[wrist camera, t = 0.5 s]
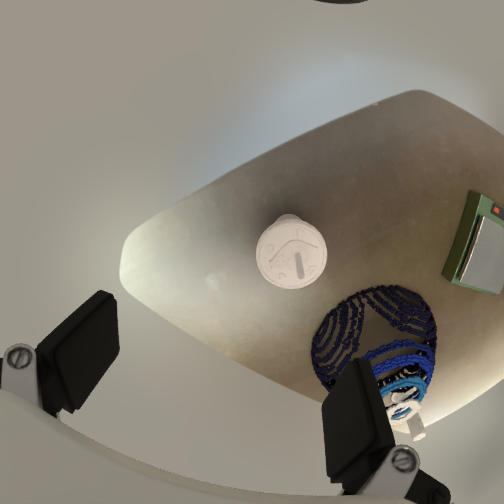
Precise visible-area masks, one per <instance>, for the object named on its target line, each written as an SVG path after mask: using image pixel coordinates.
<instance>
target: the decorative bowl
mask: <svg viewBox="0 0 504 504" xmlns="http://www.w3.org/2000/svg"><path fill="white" fill-rule="evenodd" d="M388 289H389V290H390V292H391V293H393V294H394V295H395V296H396V297H398V298H399V299H400V300H402V301H403V302H401V301H400V300H398V299H397V298H396V297H394V296H393V294H391V293H390V292H388ZM376 290H378V291H381V293H383V294H384V295H385V296H386V297H387V298H388V299H389V300H391V301H392V302H394V303H395V304H396V305H398V309H399V310H400V311H402V312H403V313H402V312H400V311H398V310H397V309H396V308H394V307H393V306H391V305H389V303H388V302H386V301H384V299H382V298H381V296H380V295H378V293H377V292H376ZM396 290H399V291H400V292H402V294H404V295H405V296H408V297H409V298H411V299H414V300H416V301H419V302H421V303H422V305H421V306H419V305H416V304H414V303H411V302H409V301H408V300H406V299H404V298H403V297H401V296H400V295H399V294H397V293H396V292H395V291H396ZM369 292H373V294H374V295H373V297H374V299H376V300H377V302H379V303H380V304H382V306H384V307H385V308H386V309H388V310H389V312H391V313H393V312H394V311H395V313H394V314H395V315H396V316H398V317H399V318H401V319H400V321H401V322H403V323H404V324H408V323H410V324H413V325H416V326H419V327H422V328H423V329H424V330H425V331H427V333H426V334H425V332H423V331H420V330H417V329H414V328H412V327H410V326H407V325H405V326H403V324H402V323H401V322H400V321H398V320H396V319H395V318H394V319H393V320H392V316H390V315H389V314H388V313H385V311H383V310H382V309H381V308H380V307H378V305H375V302H374V301H372V299H370V298H369V296H368V295H364V294H366V293H369ZM409 293H411V294H413V295H411V294H409ZM359 295H362V297H363V298H365V297H366V298H367V300H368V301H367V303H368V304H369V305H370V306H371V307H372V308H373V309H375V308H376V310H375V311H376V312H377V313H379V314H380V315H382V317H384V318H385V319H387V320H388V321H389V322H391V323H390V325H391V326H392V327H395V326H399V325H400V327H398V328H397V329H398V330H400V331H401V332H404V331H407V332H409V333H410V334H414V335H417V336H420V337H425V341H424V342H423V344H420V343H416V342H413V340H410V339H406V340H403V339H402V341H399V340H394V341H393V343H390V344H387V345H384V344H383V346H380V347H379V348H378V349H377V348H376V350H373V351H368V352H367V354H366V355H365V356H364V357H363V356H362V358H361V359H368V360H369V361H370V360H371V359H374V358H377V356H378V355H381V354H384V352H385V353H386V352H387V351H390V350H393V351H394V350H395V349H397V348H400V349H401V348H402V347H404V348H407V347H412V348H415V349H419V351H418V352H417V354H414V353H412V354H411V355H410V354H407V356H406V355H401V356H398V355H397V357H394V358H391V359H386V361H385V362H382V363H379V364H376V366H375V367H372V369H373V372H374V375H375V377H376V378H377V377H378V376H379V375H380V374H381V373H383V372H386V371H389V370H392V369H393V368H395V367H398V366H403V368H402V369H400V371H397V373H396V374H394V375H390V377H386V378H384V379H383V380H382V379H381V380H379V381H378V382H377V383H379V390H380V393H381V396H382V398H383V397H384V396H385V395H388V393H389V392H390V391H391V393H400V392H401V393H403V392H404V393H406V392H407V391H409V390H410V389H413V388H414V387H416V388H418V389H417V390H416V391H414V392H413V393H412V394H410V395H409V396H408V397H407V398H405V399H404V400H402V401H399V402H398V403H396V404H392V405H391V406H389V407H385V408H386V410H387V411H386V412H387V415H388V418H389V422H390V425H395V424H400V423H403V422H406V421H407V420H408V419H409V418H411V417H412V416H413V415H414V414H415V413H416V412H417V411H418V409H419V408H420V407H421V403H420V402H421V400H422V398H423V397H424V395H425V394H426V393H427V392H426V391H427V387H428V385H429V383H430V381H431V378H432V373H433V371H434V365H435V353H436V352H435V351H436V350H435V349H436V346H437V345H436V344H437V343H436V342H437V341H436V340H437V336H436V331H437V329H436V328H437V327H436V324H435V320H434V319H435V318H434V317H433V314H432V312H431V311H430V310H431V309H430V307H429V306H428V305H427V303H426V302H425V301H424V300H422V299H423V298H422V297H421V296H420V295H419V294H417V293H414V292H412V291H410V290H407V289H405V288H402V287H400V286H398V285H396V286H393V285H390V286H388V287H385V286H383V285H382V286H381V287H380V286H377V288H376V289H375V288H372V287H371V289H370V288H369V289H368V290H367V289H366V291H365V290H362V291H361V293H359V292H357V293H356V295H353V296H351V297H348V299H347V301H344V300H343V301H342V303H339V304H338V306H337V308H336V309H334V310H331V312H330V313H329V314H328V313H327V315H326V317H325V319H324V320H323V322H322V324H321V326H320V327H319V329H318V331H317V332H316V334H315V336H314V337H313V342H312V350H311V357H312V365H313V367H314V371H315V373H316V375H317V377H318V378H319V380H320V381H321V384H322V385H323V386H325V388H326V389H327V391H328V392H330V391H331V390H332V388H333V386H334V385H335V383H336V382H337V381H336V380H332V377H333V379H336V378H337V377H338V376H339V374H338V373H339V372H341V371H342V370H343V368H344V367H345V366H346V364H347V363H348V362H349V360H350V359H351V356H352V354H353V353H354V352H356V351H357V350H358V347H359V345H360V343H358V342H359V336H360V335H361V331H362V330H361V329H362V325H363V320H364V315H363V314H364V306H365V304H364V303H362V301H361V299H362V297H359ZM356 297H357V299H358V301H359V303H360V304H359V307H361V308H362V310H361V312H359V315H360V316H361V318H359V317H358V315H357V313H358V310H359V309H358V307H356V305H355V303H353V302H352V299H356ZM346 302H347V303H348V302H350V308H352V310H353V311H352V314H353V315H352V317H350V320H352V322H351V327H350V330H352V331H351V332H350V331H349V332H348V336H347V338H345V339H344V341H343V342H342V341H341V340H342V338H343V337H344V334H345V330H346V329H347V328H346V327H347V323H348V322H347V321H348V313H349V311H348V309H349V307H348V305H347V304H346ZM404 302H406V304H409V305H410V306H412V307H410V306H408V305H406V304H404ZM374 305H375V306H374ZM413 307H415V308H418V309H420V310H416V309H414V308H413ZM339 308H341V309H342V310H341V309H340V314H339V316H340V317H339V320H341V321H339V324H341V326H340V329H339V330H340V331H339V333H338V336H337V338H336V341H335V342H334V346H335V347H332V349H331V350H330V352H329V353H327V355H326V356H324V357H322V359H321V358H320V357H315V353H321V351H324V350H325V348H326V347H327V345H328V344H329V342H330V340H331V339H332V336H333V332H334V331H335V327H336V322H337V316H338V314H337V311H336V310H339ZM423 309H426V311H421V310H423ZM413 312H415V313H414V314H412V313H413ZM362 313H363V314H362ZM404 313H406V314H407V315H409V316H412V317H414V315H415V316H418V318H419V319H421V320H423V321H426V323H424V322H422V321H419V320H416V319H413V318H410V319H407V317H408V316H407V315H405V314H404ZM333 315H334V318H333V320H334V321H333V326H332V329H331V332H330V334H329V337H328V339H327V340H326V342H325V343H324V345H323V346H322V347H320V348H316V345H317V344H319V343H320V342H321V340H322V339H323V337H324V335H325V334H326V332H327V329H328V326H329V321H330V320H329V318H330V317H331V316H333ZM355 317H356V318H357V317H358V325H357V328H356V329H357V330H359V332H358V334H357V337H356V338H355V337H354V331H355V329H353V328H354V326H356V323H357V321H356V320H355ZM427 320H428V322H427ZM424 324H425V325H424ZM323 325H324V326H323ZM322 327H323V331H322V333H321V334H320V335H319V332H320V330H321V329H322ZM427 327H428V328H427ZM353 337H354V339H353V340H352V341H353V342H352V345H354V346H353V347H352V351H351V352H350V353H349V354H347V355H346V356H345V358H344V359H343V360H342V362H341V363H340V364H339V366H338V367H337V371H336V372H334V374H331V376H330V375H328V376H327V374H328V373H329V372H330V371H332V370H333V369H334V368H335V366H334V365H335V364H336V362H337V361H338V359H339V358H340V357H341V355H342V354H343V352H344V351H345V349H346V350H348V348H349V347H350V343H351V341H348V343H346V341H347V340H350V339H352V338H353ZM341 342H342V344H344V346H343V347H342V350H341V352H340V353H339V355H338V356H337V357H336V359H335V360H334V362H332V363H331V364H330V366H329V365H326V366H322V367H319V365H318V363H322V362H323V363H326V362H328V361H329V360H331V358H332V357H333V355H334V354H335V352H336V351H337V350H338V348H339V347H340V343H341ZM427 342H429V344H427ZM432 348H433V349H432ZM420 353H422V354H421V355H419V354H420ZM404 365H406V366H405V367H404ZM328 367H329V368H328ZM421 367H422V368H421ZM420 368H421V369H420ZM404 369H407V370H408V372H411V373H413V372H416V373H414V374H408V373H404V371H403V370H404ZM323 372H324V373H325V374H323ZM400 372H401V374H403V376H405V377H406V378H405V377H404V378H402V377H400V375H399V373H400ZM417 372H418V373H417ZM420 372H421V373H420ZM419 373H420V374H419ZM395 375H396V376H397V377H398V378H399V380H396V377H395ZM419 375H420V376H419ZM425 375H426V377H427V378H426V379H425V380H423V378H424V377H425ZM389 379H390V381H389ZM383 381H385V383H386V386H384V384H383ZM329 382H330V384H329ZM331 386H332V387H331ZM397 388H398V389H397ZM400 388H401V389H400ZM405 388H406V389H405ZM418 392H419V394H418V395H417V396H416V394H417V393H418ZM413 396H416V397H414V398H413V399H411V398H412V397H413ZM405 407H408V408H407V409H405V410H403V411H401V410H402V409H404V408H405ZM398 411H401V412H399V413H397V414H395V415H392V414H393V413H396V412H398ZM407 412H408V413H407ZM405 413H407V414H406V415H405V416H403V417H402V418H399V419H395V418H398V417H399V416H401V415H404V414H405Z"/></svg>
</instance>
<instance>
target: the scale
mask: <svg viewBox="0 0 504 504" xmlns="http://www.w3.org/2000/svg"><path fill="white" fill-rule="evenodd" d="M481 215H484V216H486V217H487V218H489V219H491V220H493V221H494V222H496V223H498V224H499V225H501V226H503V227H504V208H503V207H501V206H500V205H498V204H497V203H495V202H493V201H492V200H490V199H489V198H487V197H485V196H484V195H482V194H479V193H476V192H472V191H469V194H468V198H467V202H466V206H465V209H464V213H463V216H462V219H461V223H460V226H459V229H458V232H457V235H456V238H455V241H454V244H453V246H452V249H451V252H450V254H449V257H448V260H447V262H446V265H445V267H444V270H443V272H442V275H443V276H444V277H445V278H446V279H447V280H448V281H450V282H451V283H453V284H456V285H460V286H463V287H467V288H470V289H473V290H477V291H480V292H484V293H487V294H490V295H493V296H495V294H496V293H494V292H490V291H487V290H484V289H481V288H478V287H474V286H471V285H468V284H464V283H461V282H459V281H458V277H459V275H460V272H461V270H462V267H463V265H464V262H465V260H466V257H467V255H468V252H469V249H470V247H471V244H472V241H473V238H474V235H475V232H476V229H477V226H478V222H479V219H480V216H481Z"/></svg>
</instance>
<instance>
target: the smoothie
mask: <svg viewBox="0 0 504 504" xmlns="http://www.w3.org/2000/svg"><path fill="white" fill-rule="evenodd" d="M256 261H257V265H258V268H259V270H260V272H261V274H262V275H263V276H264V278H265V279H266V280H268V281H269V282H270V283H272V284H273V285H275V286H278V287H281V288H285V289H297V288H302V287H305V286H307V285H309V284H311V283H312V282H314V281H315V280H316V279H317V278H318V277H319V276H320V275H321V273H322V272H323V270H324V268H325V265H326V262H327V249H326V245H325V241H324V239H323V237H322V235H321V233H320V232H319V231H318V230H317V229H316V228H315V227H314V226H312V225H310V224H309V223H307V222H305V221H302V220H301V219H300V218H299V217H298V216H296V215H294V214H284V215H282V216H280V217H279V218H278V219H277V220H276V221H275V223H274V224H273V225H271V226H269V227H268V228H267V229H266V230H265V231H264V232H263V234H262V235H261V237H260V239H259V240H258V244H257V248H256Z"/></svg>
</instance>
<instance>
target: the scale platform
mask: <svg viewBox="0 0 504 504" xmlns="http://www.w3.org/2000/svg"><path fill="white" fill-rule="evenodd" d="M458 281H459V282H461V283H464V284H468V285H471V286H474V287H478V288H481V289H484V290H487V291H490V292H494V293H497V294H500V292H501V289H502V287H503V285H504V227H503V226H501V225H499V224H498V223H496V222H494V221H493V220H491V219H489V218H487V217H486V216H484V215H481V216H480V219H479V222H478V226H477V229H476V232H475V235H474V238H473V241H472V244H471V247H470V249H469V252H468V255H467V257H466V260H465V262H464V265H463V267H462V270H461V272H460V275H459V277H458Z"/></svg>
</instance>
